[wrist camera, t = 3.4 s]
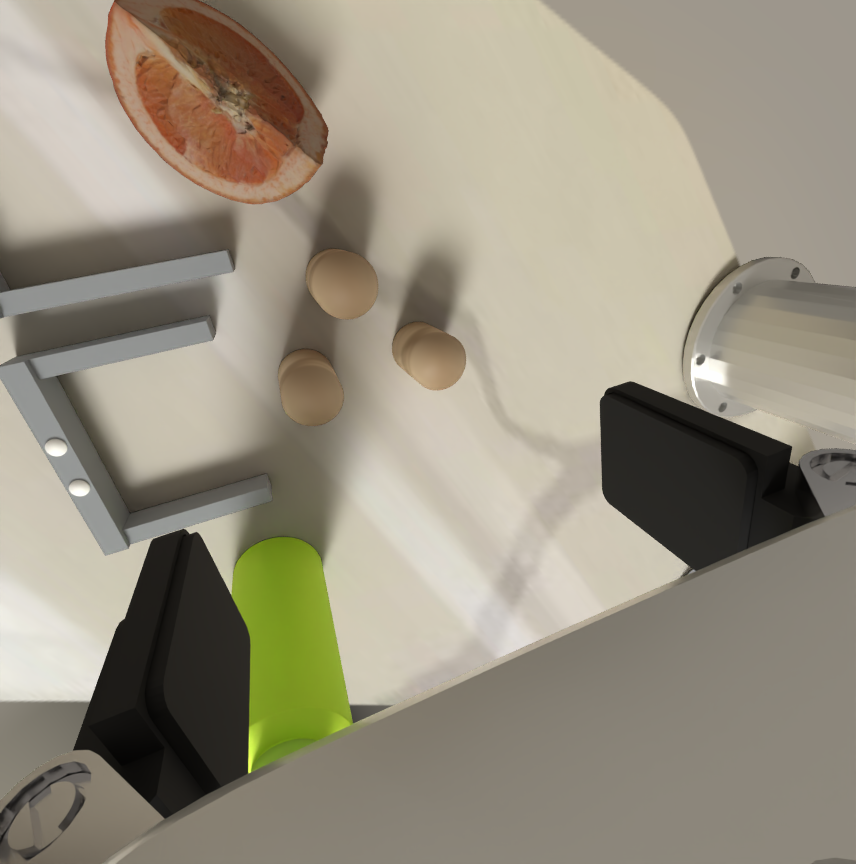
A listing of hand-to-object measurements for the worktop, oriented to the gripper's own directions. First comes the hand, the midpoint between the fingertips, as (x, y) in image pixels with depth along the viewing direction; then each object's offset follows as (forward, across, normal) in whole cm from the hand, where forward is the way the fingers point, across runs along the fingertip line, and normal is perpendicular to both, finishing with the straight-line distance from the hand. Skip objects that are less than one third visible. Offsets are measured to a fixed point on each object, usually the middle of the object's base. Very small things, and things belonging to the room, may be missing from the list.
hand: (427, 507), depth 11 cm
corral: (+19, +10, +3) cm, 22 cm away
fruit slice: (+20, +1, -11) cm, 23 cm away
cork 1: (+20, -2, -3) cm, 20 cm away
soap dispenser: (+20, +8, +15) cm, 26 cm away
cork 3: (+20, -5, +2) cm, 20 cm away
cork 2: (+20, +2, +2) cm, 20 cm away
